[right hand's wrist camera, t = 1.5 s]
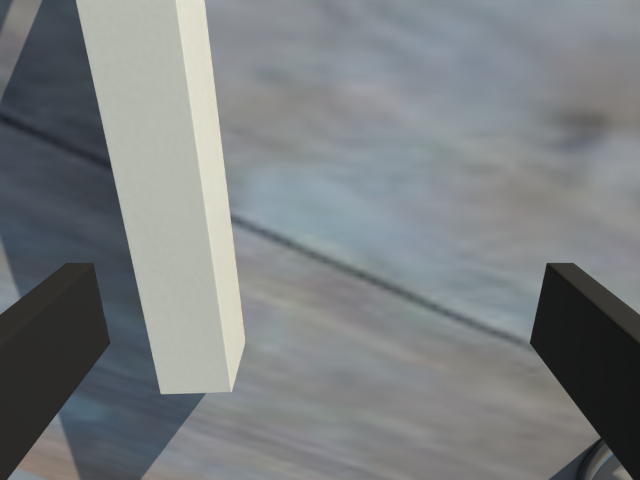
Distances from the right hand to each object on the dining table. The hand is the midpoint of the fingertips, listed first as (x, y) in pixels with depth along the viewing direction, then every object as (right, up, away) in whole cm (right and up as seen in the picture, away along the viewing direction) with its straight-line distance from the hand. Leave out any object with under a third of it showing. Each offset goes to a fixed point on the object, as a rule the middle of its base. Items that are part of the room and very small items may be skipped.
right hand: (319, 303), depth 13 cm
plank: (-9, +8, +17) cm, 21 cm away
